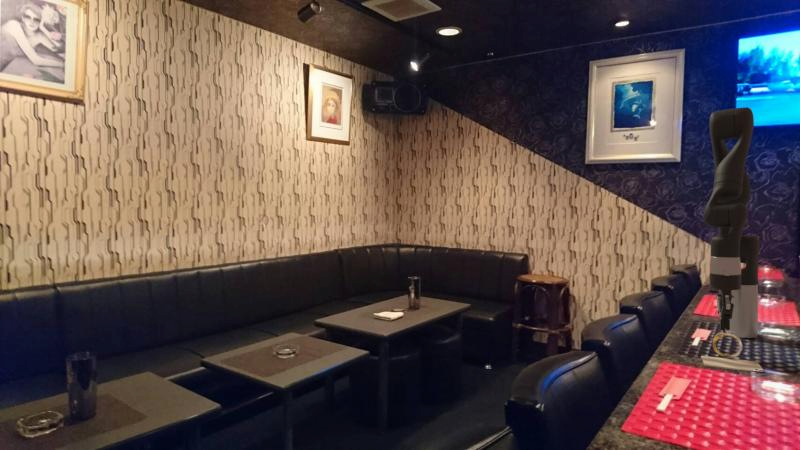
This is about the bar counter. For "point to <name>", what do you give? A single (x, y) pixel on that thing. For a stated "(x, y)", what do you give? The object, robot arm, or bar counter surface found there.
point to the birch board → (730, 363)
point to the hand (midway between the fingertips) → (724, 331)
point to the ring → (727, 333)
